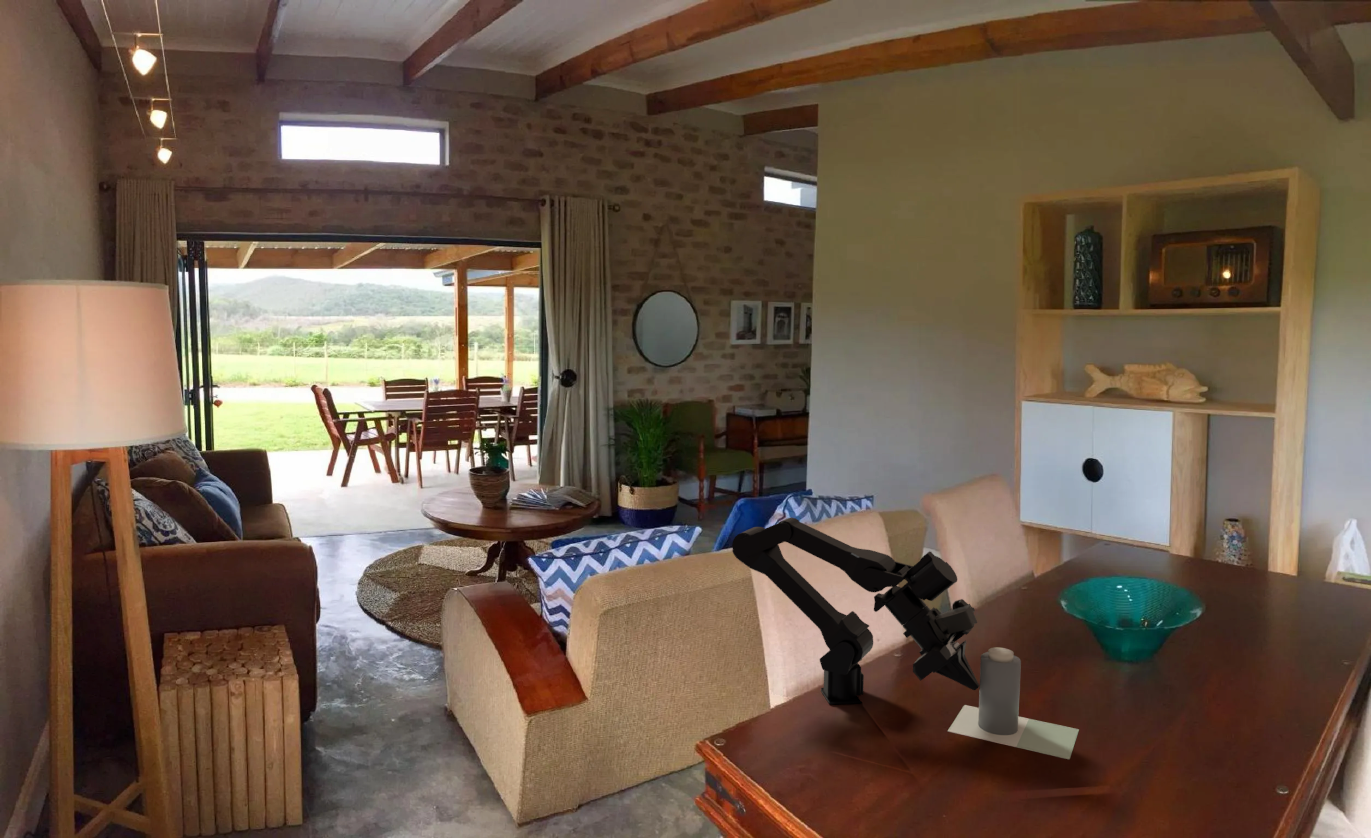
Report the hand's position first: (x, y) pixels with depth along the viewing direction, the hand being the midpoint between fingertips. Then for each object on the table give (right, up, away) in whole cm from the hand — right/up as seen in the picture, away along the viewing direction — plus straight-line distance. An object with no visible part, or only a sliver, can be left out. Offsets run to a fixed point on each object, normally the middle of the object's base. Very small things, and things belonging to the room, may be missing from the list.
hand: (977, 688), depth 151 cm
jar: (+3, -6, -1) cm, 7 cm away
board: (+5, -7, -2) cm, 9 cm away
